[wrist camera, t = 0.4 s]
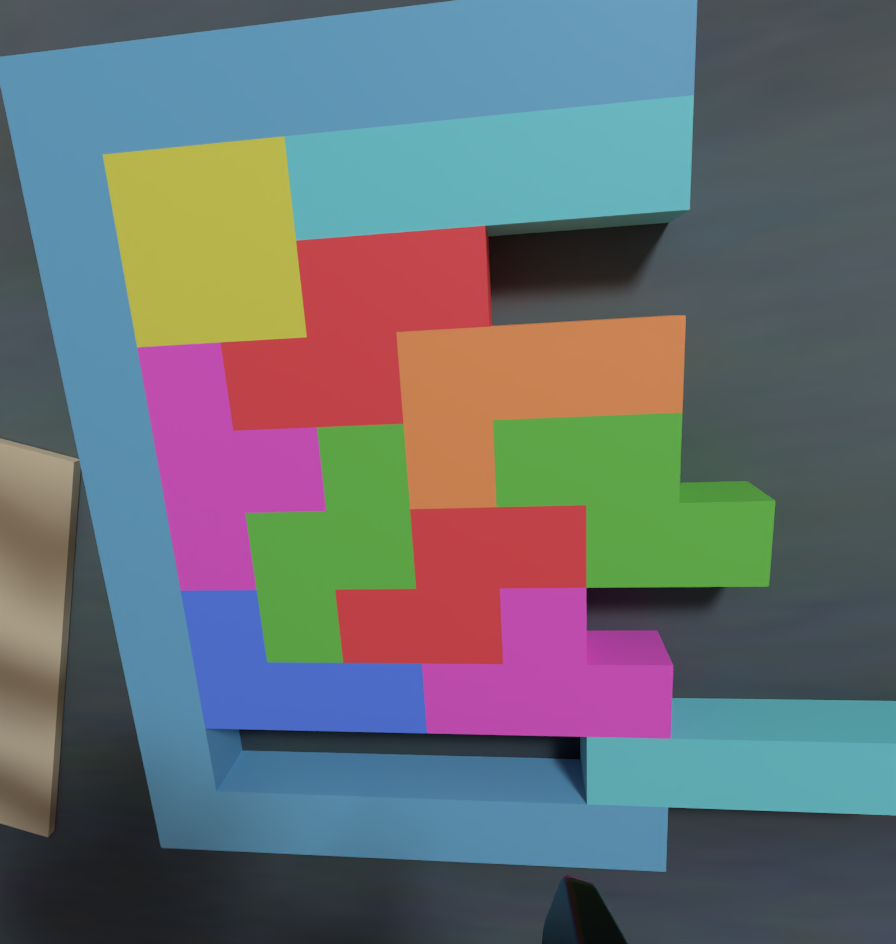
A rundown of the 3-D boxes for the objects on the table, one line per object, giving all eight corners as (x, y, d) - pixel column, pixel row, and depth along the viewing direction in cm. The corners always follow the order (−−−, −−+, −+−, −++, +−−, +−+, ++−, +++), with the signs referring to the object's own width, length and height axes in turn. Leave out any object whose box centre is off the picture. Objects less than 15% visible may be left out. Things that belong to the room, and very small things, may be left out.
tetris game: (196, 794, 27) (870, 818, 24) (161, 847, 24) (916, 883, 21) (64, 92, 20) (981, -13, 17) (-6, 57, 17) (1070, -76, 14)
